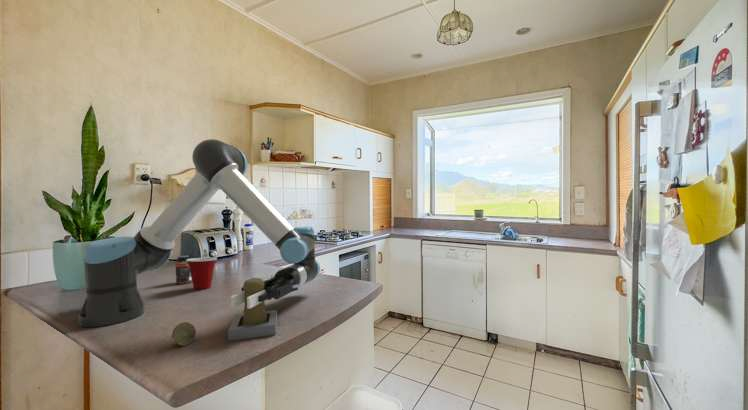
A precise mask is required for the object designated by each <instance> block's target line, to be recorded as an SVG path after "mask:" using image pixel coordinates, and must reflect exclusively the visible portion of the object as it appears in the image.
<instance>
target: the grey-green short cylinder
mask: <svg viewBox="0 0 748 410" xmlns="http://www.w3.org/2000/svg"><path fill="white" fill-rule="evenodd" d="M196 334H197V331H196V328H195V325H194V324H192V323H190V322H186V321H185V322H180V323H179V324H178V325H176V326H175V327H174V328H173V330H172V333H171V338H172V340H173V342H174V344H177V345H178V346H182V347H183V346H187V345H189V344H190V343H191V342H193V340H194V338H196Z"/></svg>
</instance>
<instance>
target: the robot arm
mask: <svg viewBox="0 0 748 410" xmlns="http://www.w3.org/2000/svg"><path fill="white" fill-rule="evenodd" d="M191 158H192V163H193V164H194V166H195V167H194V170H195V174H194V176H193V177H192V178H191V179H190V180H189V182H188V183H186V185H185V186H184V187H183V188H182V189H181V191H179V193H178V194H177V195H176V196H175V197H174V198H173V200H172V201H171V202H170V203H169V204H168V205H167V206H166V208H165V209H164V210H163V211H162V212H161V213H160V214H159V216H157V217H156V219H155V220H154V221H153V222H152V223H151V225H150V226H149V225H148V226H143V227H141V229H139V231H137V232H136V234H135V235H134V236H115V237H109V238H102V239H98V240H94V241H92V242H90V243H88V244H87V245H86V247H85V248H84V257H83V261H84V275H85V276H84V278H85V279H84V280H85V298H84V301H83V303H82V306H81V309H80V311H79V314H78V318H77V319H78V325H79V326H80V327H84V328H87V327H88V328H90V327H91V328H93V327H103V326H110V325H115V324H118V323H123V322H126V321H129V320H132V319H135V318H137V317H140V316H141V315H143V314H144V313H145V312H146V309H145V306H146V305H145V302H144V300H143V298H142V296H141V294H140V292H139V290H138V284H137V283H138V282H137V281H138V279H137V275H140V274H143V273H147V272H149V271H154V270H157V269H159V268H161V267H162V266H164V265H166V263H167V262H168V261H169V260H170V259H171V257H172V254H173V250H174V248H175V246H176V244H175V240H176V239H177V238H178V237H179V236H180V234H181V233H182V232H183V231H184V229H186V227H188V225H189V224H190V223H191V221H192V220H193V219H194V218H195V217H196V216H197V215H198V214H199V212H200V211H201V210H203V208H204V207H205V206H206V205H207V204H208V202H209V201H210V200H211V199H212V198H213V197H214V196H215V194H216V193H217V192H218V191H219V190H220V191H222V192H223V193H224V194H225V195H226V196H227V197H228V198H229V200H231V201H232V203H234V205H235V206H237V207H238V209H240V211H241V212H242V213H243V214H244V215H245V216H246V217H248V219H249V220H250V221H251V223H252V224H254V225H255V226H256V227H257V228H258V229H259V230H260V231H261V232H262V233H263V234H264V235H265V237H266V238H268V240H269V241H270V242H271V243H272V244H273V245H275V247H276V248H277V249H278V250H279V252H280V253H279V254H280V257H281V258H282V260H283V261H284V262H286V263H288V264H291V265H289V266H286V267H284V268H281V269H279V270H278V271H276V272H275V274H274V276H273V277H271V278H268V279H266V280H263V281H264V289H263V290H262V291H260V292H258V293H256V294H254V295H251V296H249V297H247V309H250V308H252V307H254V306H256V305H258V304H260V303H262V302H264V303H265V301H267V300H268V301H271V300H272V299H274V300H279V299H280V298H283V297H284V296H287V295H288V294H290V293H292V292H295V291H298V290H299V287H301V286H304V285H305V284H307V283H309V282H311V281H313V280H314V279H315V278H317V276H319V274H320V272H321V266H320V264H319V262H318V261H317V260H316V254H315V253H316V252H315V251H316V250H315V247H316V246H315V238H316V235H315V230H314V227H313V226H296V227H293V225H291V224H290V223H289V222H288V220H287V219H285V217H284V216H282V215H281V214H280V212H279V211H278V210H277V209H276V208H275V207H274V206H273V205H272V204H271V203H270V202H269V200H267V199H266V198H265V196H263V194H262V193H261V192H260V191H259V190H258V189H257V188H256V187H255V186H254V185H253V183H251V182H250V181H249V179H247V178H246V176H244V175H245V173H246V172H247V170H248V169H247V168H248V161H247V157H246V156H245V154H244V153H243V152H242V151H241V150H240V149H239V148H237V146H235V145H231V144H228V143H226V142H224V141H222V140H219V139H213V138H211V139H206V140H205V139H204V140H203V141H200V142H199V143H198V144H197V145H196V146H195V147H194V149H193V151H192V157H191ZM245 296H246V292H245V291H244V288H243V287H241V291H240V292H238V293H236V294H233V295H231V296H230V308H236V307H238V306H239V305H241V304H245Z"/></svg>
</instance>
